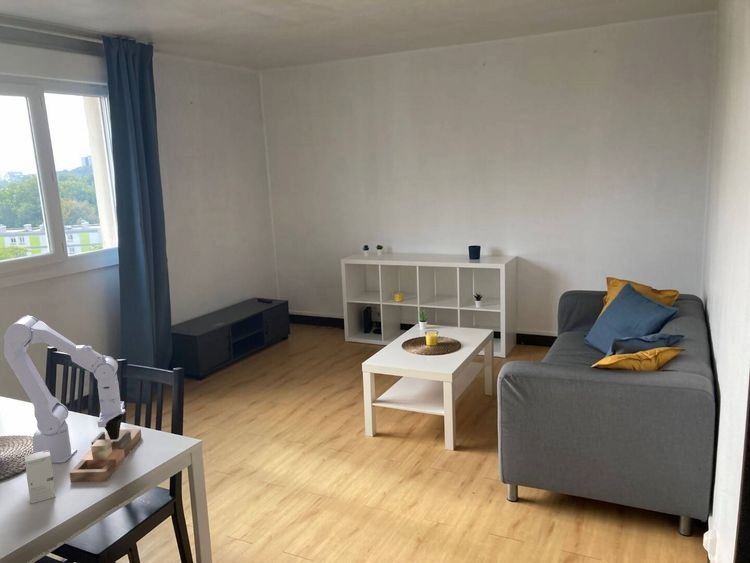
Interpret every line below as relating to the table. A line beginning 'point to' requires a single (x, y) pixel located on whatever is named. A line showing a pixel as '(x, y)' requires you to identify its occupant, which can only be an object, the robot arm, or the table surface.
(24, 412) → the table surface
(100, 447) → the maple block
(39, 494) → the skincare box
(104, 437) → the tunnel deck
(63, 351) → the robot arm
